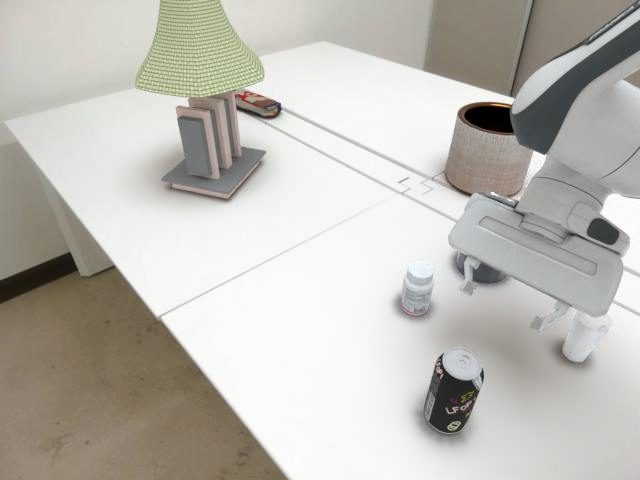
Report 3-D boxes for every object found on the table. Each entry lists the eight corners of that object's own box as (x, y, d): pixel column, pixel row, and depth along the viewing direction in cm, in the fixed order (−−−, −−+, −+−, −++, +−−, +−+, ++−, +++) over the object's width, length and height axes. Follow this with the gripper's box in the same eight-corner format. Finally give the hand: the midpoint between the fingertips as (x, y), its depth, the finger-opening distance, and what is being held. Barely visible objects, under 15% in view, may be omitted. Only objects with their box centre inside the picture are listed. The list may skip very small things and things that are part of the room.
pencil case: (251, 95, 147) (250, 80, 144) (287, 115, 136) (286, 99, 133) (221, 104, 142) (219, 88, 139) (256, 125, 130) (254, 109, 127)
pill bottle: (406, 291, 79) (412, 255, 74) (432, 302, 77) (441, 265, 72) (395, 309, 76) (401, 272, 71) (422, 320, 74) (430, 283, 69)
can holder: (512, 262, 85) (519, 241, 82) (497, 290, 79) (504, 269, 76) (466, 245, 89) (472, 224, 86) (449, 270, 83) (454, 249, 80)
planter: (429, 171, 111) (440, 109, 101) (484, 155, 117) (499, 95, 107) (480, 208, 99) (498, 142, 89) (538, 188, 105) (561, 124, 95)
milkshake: (561, 367, 67) (586, 322, 61) (555, 339, 71) (578, 294, 65) (594, 373, 66) (623, 328, 60) (586, 344, 70) (613, 299, 64)
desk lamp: (247, 216, 96) (222, 7, 71) (134, 192, 103) (75, -6, 78) (292, 159, 115) (285, -21, 90) (194, 142, 122) (162, -30, 97)
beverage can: (474, 414, 61) (496, 360, 54) (453, 446, 58) (473, 392, 50) (436, 389, 64) (452, 334, 57) (414, 417, 61) (428, 363, 53)
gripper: (473, 177, 60) (421, 269, 60) (646, 244, 49) (582, 356, 50) (481, 192, 65) (433, 276, 66) (639, 255, 54) (581, 356, 55)
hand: (498, 311), depth 57 cm, fingers open, 8 cm apart
